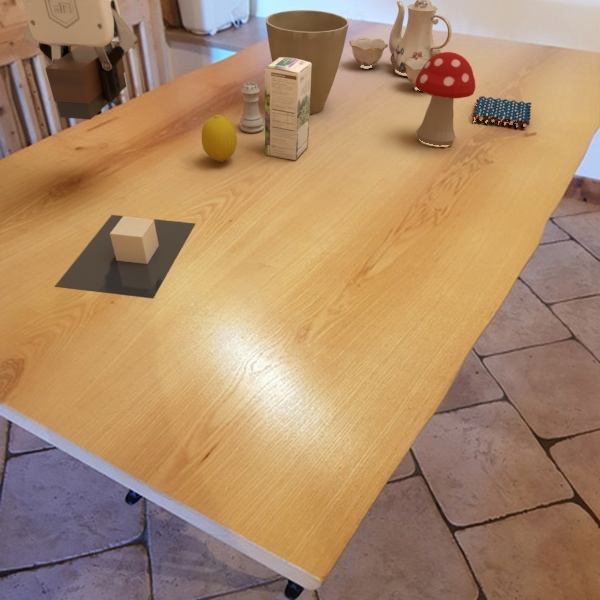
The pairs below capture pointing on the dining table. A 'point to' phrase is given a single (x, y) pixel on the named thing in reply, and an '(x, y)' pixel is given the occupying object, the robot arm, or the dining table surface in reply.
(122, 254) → the chalk block
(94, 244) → the tile
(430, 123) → the decorative mushroom
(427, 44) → the chinaware
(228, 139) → the lemon
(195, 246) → the dining table surface
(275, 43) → the plant pot
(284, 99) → the syrup box
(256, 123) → the rook chess piece
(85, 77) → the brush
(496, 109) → the woven mat
